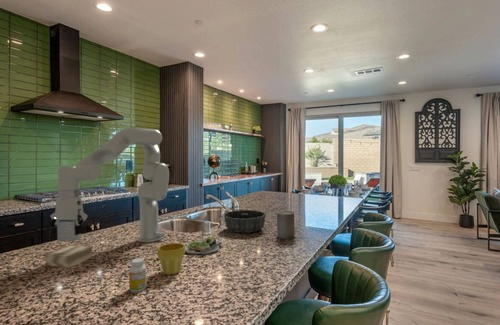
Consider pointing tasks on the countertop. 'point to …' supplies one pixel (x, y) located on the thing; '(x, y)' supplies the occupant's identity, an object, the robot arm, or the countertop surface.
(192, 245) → the salad plate
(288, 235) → the pillar candle
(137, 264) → the supplement bottle
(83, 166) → the robot arm
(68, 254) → the birch block
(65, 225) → the medicine box
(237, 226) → the bundt pan
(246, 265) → the countertop surface
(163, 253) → the plant pot
